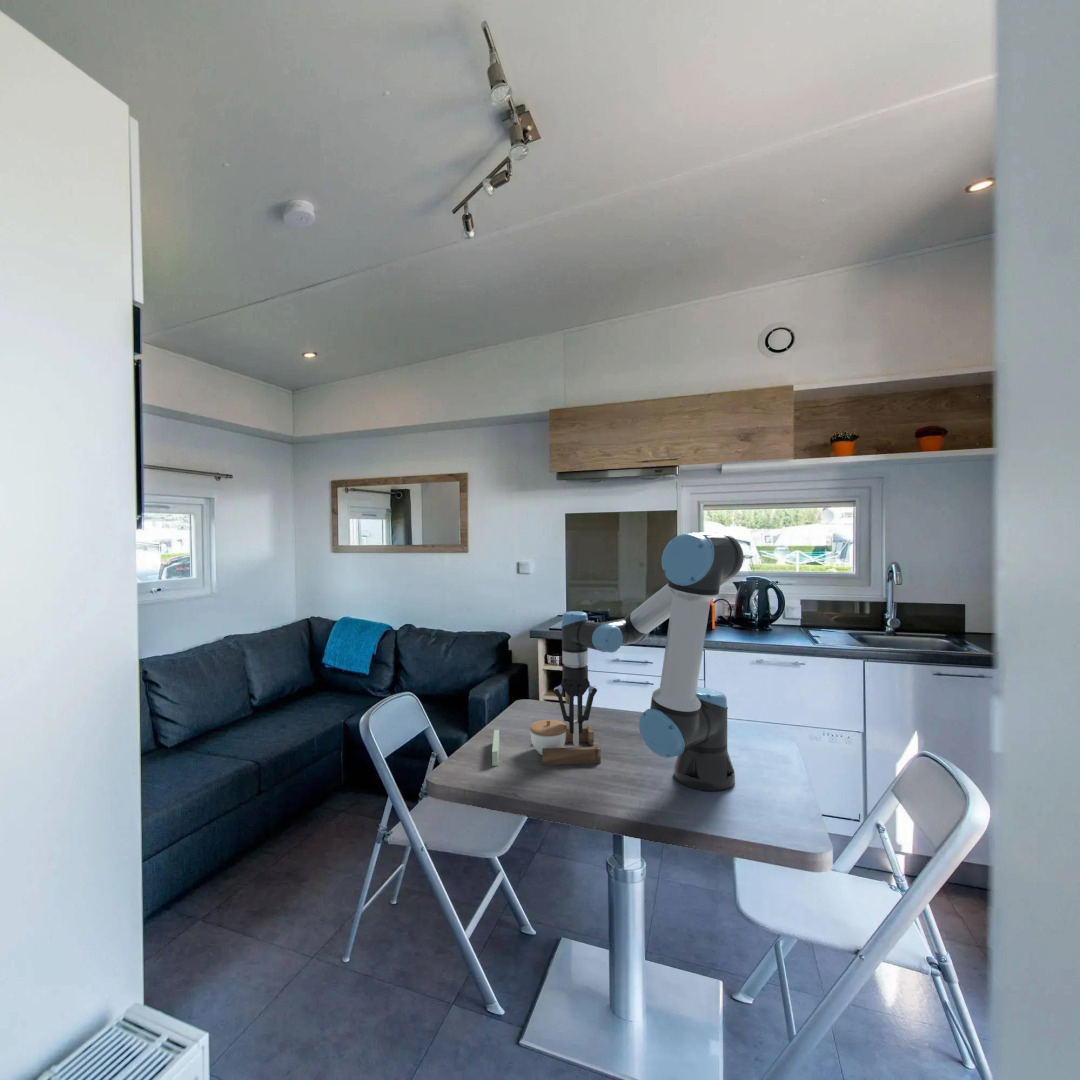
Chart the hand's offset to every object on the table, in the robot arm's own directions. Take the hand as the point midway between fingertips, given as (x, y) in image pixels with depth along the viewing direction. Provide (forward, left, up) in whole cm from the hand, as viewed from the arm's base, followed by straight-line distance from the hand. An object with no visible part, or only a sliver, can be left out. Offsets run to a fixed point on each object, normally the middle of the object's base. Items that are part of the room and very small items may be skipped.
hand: (575, 743), depth 153 cm
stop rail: (0, +24, -2) cm, 24 cm away
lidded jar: (0, +8, -2) cm, 8 cm away
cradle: (0, +3, -2) cm, 3 cm away
